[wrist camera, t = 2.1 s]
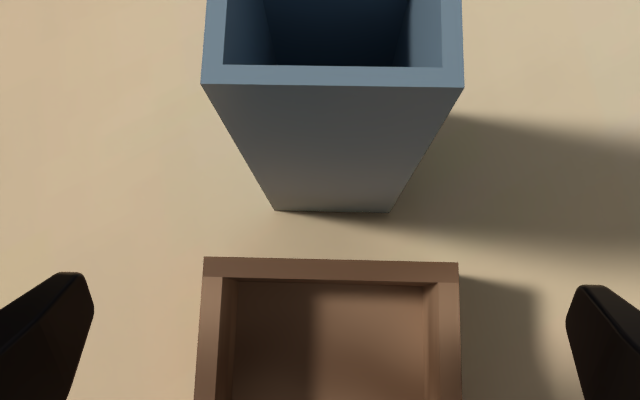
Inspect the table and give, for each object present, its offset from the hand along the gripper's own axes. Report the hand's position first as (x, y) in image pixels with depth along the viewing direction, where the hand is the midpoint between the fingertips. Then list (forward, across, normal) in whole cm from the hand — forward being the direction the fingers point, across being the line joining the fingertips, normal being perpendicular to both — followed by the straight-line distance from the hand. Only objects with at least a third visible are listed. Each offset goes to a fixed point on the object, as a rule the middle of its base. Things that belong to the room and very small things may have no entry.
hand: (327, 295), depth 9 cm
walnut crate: (+7, 0, +11) cm, 13 cm away
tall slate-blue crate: (+13, 0, +4) cm, 14 cm away
